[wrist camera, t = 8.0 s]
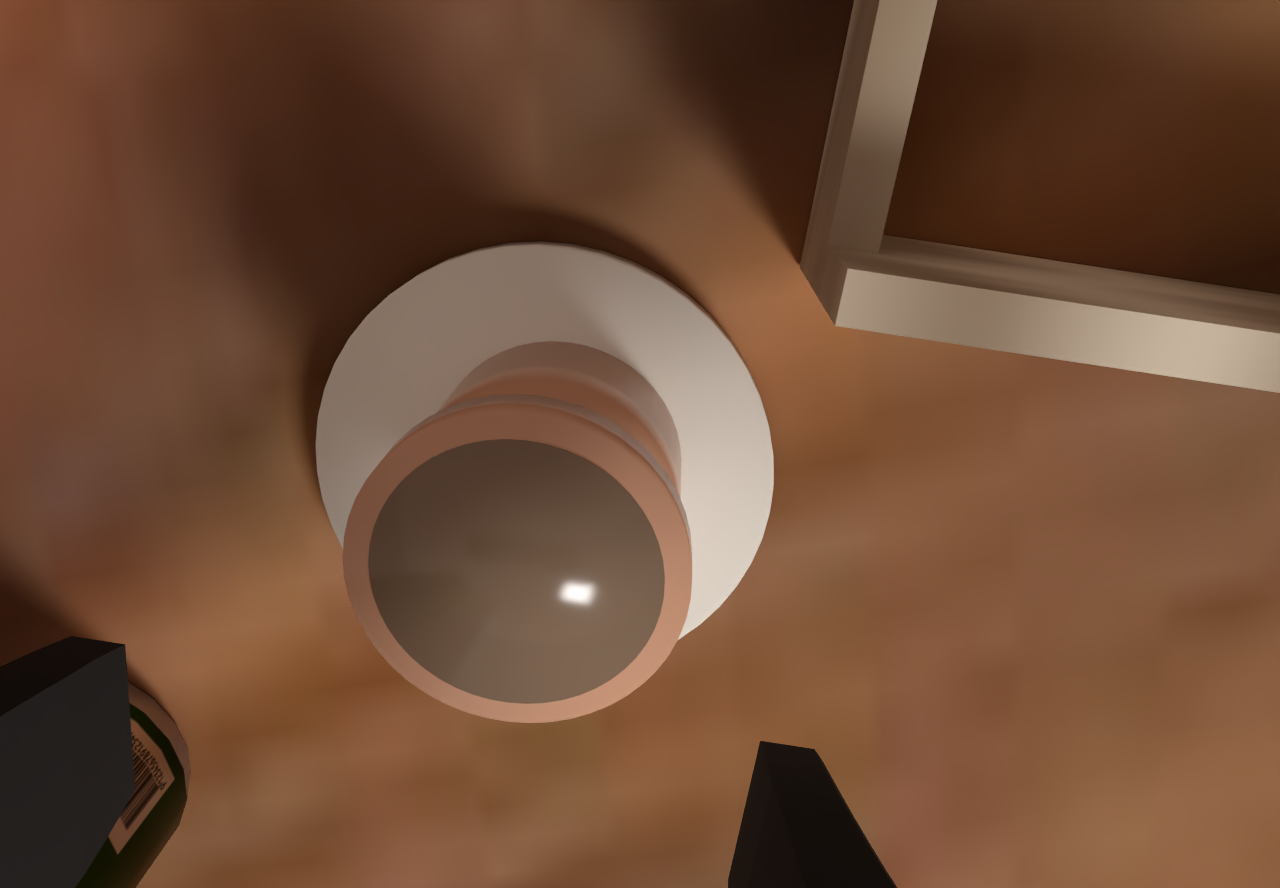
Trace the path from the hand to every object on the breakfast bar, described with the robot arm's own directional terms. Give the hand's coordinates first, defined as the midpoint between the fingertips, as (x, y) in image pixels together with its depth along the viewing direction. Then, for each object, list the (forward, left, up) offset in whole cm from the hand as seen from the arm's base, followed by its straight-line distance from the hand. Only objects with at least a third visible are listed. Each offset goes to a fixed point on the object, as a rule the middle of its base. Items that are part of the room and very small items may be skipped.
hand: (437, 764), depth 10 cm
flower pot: (0, 0, -8) cm, 8 cm away
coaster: (0, 0, -9) cm, 9 cm away
